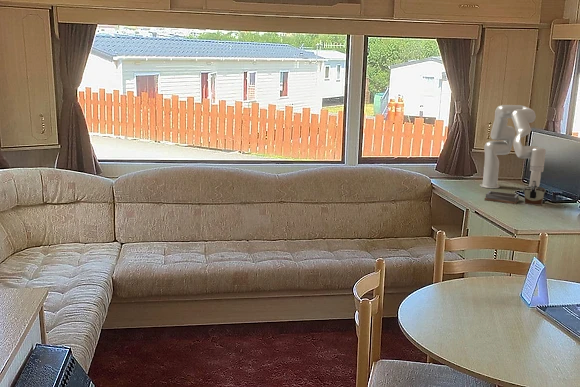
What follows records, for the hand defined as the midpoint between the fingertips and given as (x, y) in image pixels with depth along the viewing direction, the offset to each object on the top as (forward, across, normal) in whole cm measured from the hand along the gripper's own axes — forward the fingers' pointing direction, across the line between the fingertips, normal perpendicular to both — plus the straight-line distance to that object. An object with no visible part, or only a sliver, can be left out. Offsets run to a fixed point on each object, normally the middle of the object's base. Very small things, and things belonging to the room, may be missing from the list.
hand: (533, 196), depth 337 cm
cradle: (+4, +1, -18) cm, 18 cm away
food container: (+4, 0, 0) cm, 4 cm away
